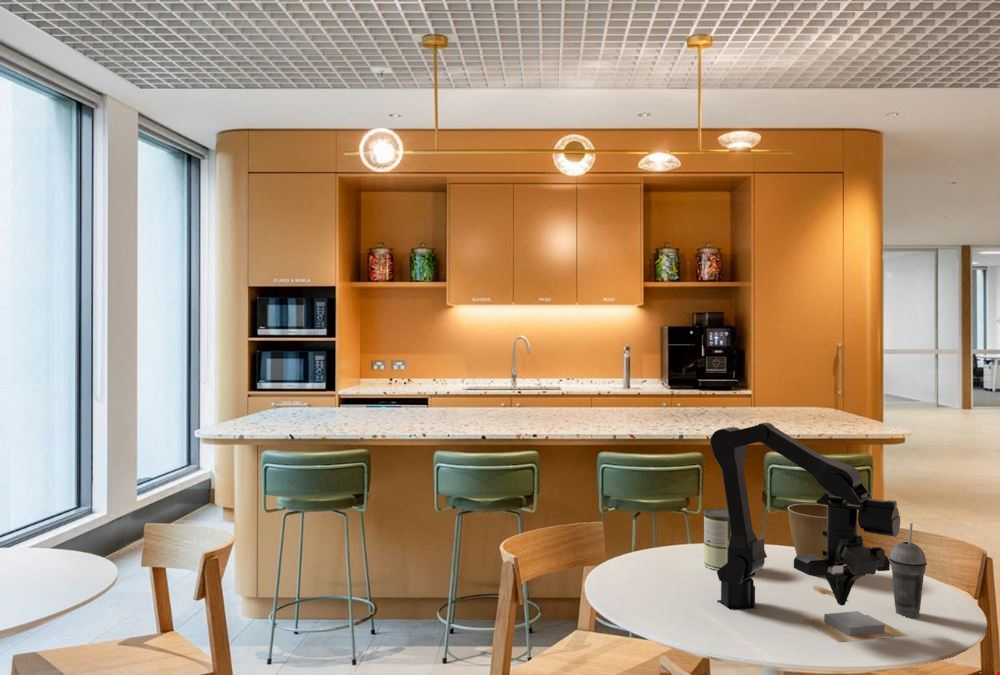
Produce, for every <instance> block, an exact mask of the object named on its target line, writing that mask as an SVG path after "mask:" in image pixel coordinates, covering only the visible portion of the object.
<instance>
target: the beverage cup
mask: <svg viewBox="0 0 1000 675" xmlns="http://www.w3.org/2000/svg"><path fill="white" fill-rule="evenodd" d="M908 532H909V535H908V541H902V542H899V543H897V544H896V545H895V546H893V547H892V549H891V551H890V555H889V556H890V557H889V558H888V559H889V561H890V570H891V572H892V573H891V574H892V587H893V598H894V607H895V614H897V615H900V616H902V617H904V616H905V618H908V617H917V618H919V617H920V610H921V604H922V594H923V586H924V577H925V576H924V575H925V573H926V570H927V569H926V566H927V564H928V563H927V559H926V554H925V553H924V551H923V549H922V548H921V547H920V546H919V545H918V544H916V543H913V542H912V536H913V523H912V522H910V523H909V531H908ZM918 616H919V617H918Z"/></svg>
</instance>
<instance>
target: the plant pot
mask: <svg viewBox="0 0 1000 675" xmlns="http://www.w3.org/2000/svg"><path fill="white" fill-rule="evenodd" d="M787 514H788V522H789V528H790V532H791V533H790V534H791V539H792V543H793V547H794V551H795V553H796V556H797V555H802V554H813V555H815V556H818V557H820V558H822V559H825V558H827V557H826V556H824V555H823V550H827V537H826V536H824V535H823V530H827V505H824V504H818V503H795V504H791V505H789V506H787ZM834 563H838V562H834ZM818 577H825V575H819V576H818Z"/></svg>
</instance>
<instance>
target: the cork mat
mask: <svg viewBox="0 0 1000 675" xmlns="http://www.w3.org/2000/svg"><path fill="white" fill-rule="evenodd" d="M865 615H866V616H868V617H870V618H872V619H874V620H876V621H878V622H880V623H882V624H884V625H885V628H884V633H879V634H868V635H857V636H849V635H847V634H845V633H843V632H842V631H840V630H838V629H836V628H834V627H833V626H831V625H829V624H827V623H826V622H824V618H815V619H814V618H813V619H805V620H803V619H802V620H801V621H802V622H803V623H806V624H807V625H808V626H810V627H812V628H814V629H815V630H817V631H819V632H821V633H823V634H824V635H825V636H827V637H829V638H831V639H833V640H834V641H836V642H837V643H846V642H856V641H858V642H859V641H866V640H869V641H870V640H877V639H879V640H880V639H888V638H901V637H908V636H910V635H909V634H906V633H905V632H902V631H901V630H898V629H896V628H895V627H892V626H891V625H890V624H889V625H888V624H887V623H885V622H883V621H881V620H879V619H877V618H875V617H873V616H871V615H869V614H865Z"/></svg>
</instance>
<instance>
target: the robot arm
mask: <svg viewBox="0 0 1000 675" xmlns="http://www.w3.org/2000/svg"><path fill="white" fill-rule="evenodd" d="M709 440H710V441H709V442H710V447H711V451H712V453H713V457H714V459H715V461H716V462H717V464H718V466H719V467H720V469H721V473H722V474H721V475H722V478H723V479H722V480H723V486H724V492H725V493H724V495H725V501H726V507H727V508H726V509H728V515H729V522H730V529H731V537H730V541H729V546H728V563H726V564H725V565H724V566H723V567H721V568H720V569H719V570H718V571H716V574H717V578H718V580H719V582H720V599H718V600H717V601H716V603H719V604H721V605H722V606H724V607H725V608H727V609H728V610H730V611H740V610H752V609H758V607H757V606H756V586H755V582H754V579H753V578H755V577H756V575H757V572H758V571H759V570H761V569H762V568H763V566H764V565H765V562H766V561H765V559H766V558H767V557H768V555H767V553H766V551H765V540H764V538H759V539H758V537H757V536H756V534H755V532H754V529H753V523H752V517H751V509H750V503H749V502H750V501H749V496H748V490H747V482H746V475H745V470H744V466H745V462H746V458H747V453H748V452H747V451H748V449H747V448H748V445H751V444H757V443H761V444H763V445H765V446H766V447H768V448H769V449H771V450H772V451H774V452H776V453H777V454H779V455H780V456H782V457H784V458H785V459H787V460H789V461H790V462H792V463H793V464H795V465H796V466H798V467H800V468H801V469H803V470H805V471H806V472H807V473H808V474H809V475H811V476H812V477H813V479H814V480H815V481H816V482H817V484H818V485H820V486H821V487H822V488H823V489H824V490H825V491H826V492H824V493H823V495H822V496H821V497H820V498H818V499H816V500H815V502H816V504H819V505H827V530H823V535H824V536H826V537H827V550H823V555H824V556H826V557H827V558H825V559H822V558H820V557H818V556H815V555H813V554H802V555H797V554H796V556H795V557H794V559H793V569H795V570H797V571H799V572H801V573H803V574H806V575H808V576H813V577H820V576H819V575H825V576H824V577H825V579H826V581H827V583H828V585H829V587H830V589H831V591H832V592H833V594H834V596H835V598H834V599H835V600H836V603H837V604H838V605H839V606H845V605H846V603H847V601H848V598H849V595H850V593H851V591H852V588H853V586H854V584H855V582H856V581H857V580H858V579H860V578H861V577H865V576H866V575H875V574H876V573H877V572H887V571H890V570H891V564H890V560H889V558H888V556H887V555H886V551H885V549H883V547H881V546H875V547H867V546H866V547H865V546H864V539H863V537H862V535H860V534H859V533H858V526H859V528H860V529H862V530H863V532H864V533H870V534H876V535H883V536H890V537H895V538H896V537H897V536H898V535H899V532H900V528H901V516H900V511H899V508H898V506H897V505H898V502H897V501H896V500H890V499H889V500H882V499H873V496H872V495H871V494H870V492H869V490H868V489H867V488H866V487H865V485H864V484H863V482H862V477H861V474H860V472H859V469H857V468H855V467H854V466H853V465H850V464H848V463H845V462H842V461H839V460H838V459H837V460H836V459H834V458H830V457H827V456H824V455H822V454H819V452H817V451H815V450H813V449H812V448H810V447H808V446H806V445H805V444H803V443H802V442H800V441H798V440H796V439H795V438H793V437H792V436H790V435H788V434H787V433H785V432H783V431H782V430H780V429H778V428H777V427H776V426H774V425H773V424H772V423H771V422H762V423H761V422H760V423H757V424H755V425H754V426H753V425H752V426H749V427H745V428H739V427H737V426H730V427H726V428H721V429H716V430H715V431H714V432H713V433H712V434H711V436H710V439H709ZM834 562H838V563H834ZM846 600H847V601H846Z"/></svg>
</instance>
